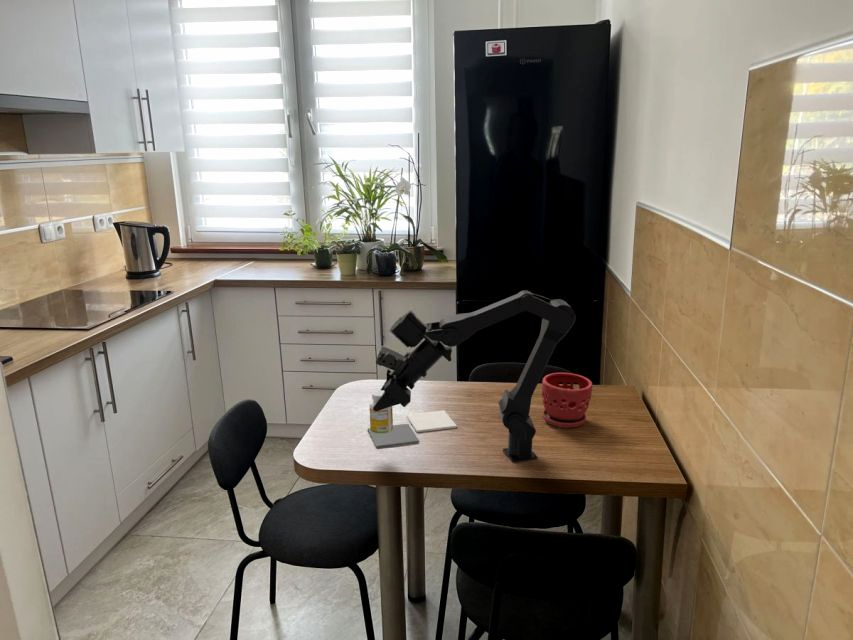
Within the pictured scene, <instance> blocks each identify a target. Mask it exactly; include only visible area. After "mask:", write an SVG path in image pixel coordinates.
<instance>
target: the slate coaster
mask: <svg viewBox="0 0 853 640" xmlns="http://www.w3.org/2000/svg"><path fill="white" fill-rule="evenodd" d="M367 432H368V434H369V436H370V438H371V440H372V442H373V444H374V447H375V448H376V449H379V448H380V449H381V448H389V447H397V446H403V445H404V444H405V445H411V443H412V445H413V444H419V443H420V440H419V438H418V437H417V435H416V434H415V431H414V430H413V429H412V427H411V425H410V423H403V424H402V423H401V424H393V431H392V432H391V433H390V434H388V435H375V434H372V433H371V430H370V427H368V428H367Z"/></svg>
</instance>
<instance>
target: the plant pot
mask: <svg viewBox="0 0 853 640" xmlns="http://www.w3.org/2000/svg"><path fill="white" fill-rule="evenodd" d="M560 382H562V385H560ZM568 383H570V384H568ZM574 384H578V387H579V388H578V389H577V388H574ZM592 393H593V382H592V381H591V380H590V379H589V378H587V377H585V376H583V375H580V374H576V373H571V372H553V373H549V374H547V375H545V376H544V377H543V378H542V382H541V400H542V404H543V407H544V408H543V409H544V410H542V418H543V419H544V420H545V421H546V422H547V423H548V424H550V425H552V426H554V427H555V426H556V427H559V428H576V427H579V426H582V425H583V424H584V423H585V422H586V420H587V415H586V413H587V411H588V408H589V406H590V402H591V399H592Z"/></svg>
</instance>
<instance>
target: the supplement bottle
mask: <svg viewBox="0 0 853 640" xmlns="http://www.w3.org/2000/svg"><path fill="white" fill-rule="evenodd" d="M383 393H384V390H381V389H380V390H375V391H373V392H372V394H371V399H372V400H371V401H370V403H369V428H370V430H371V433H372V434H375V435H388V434H390V433H391V432H392V431H393V425H394V422H393V421H394V420H393V414H394V413H393V412H394V411H393V406H391V407H388V408H385V409H382V410H379V411H374V410H373V407H374V405H375V404H376V403H377V401H378V400H379V398H380V397H381V396H382V394H383Z"/></svg>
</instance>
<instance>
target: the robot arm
mask: <svg viewBox="0 0 853 640" xmlns="http://www.w3.org/2000/svg"><path fill="white" fill-rule="evenodd" d="M525 312H528V313H531V314H533V315H535V316H537V317H539V318H540V319H542V320H541V325H540V326H541V327H540V332H539V335H538V338H537V340H536V342H535V344H534V347H533V348H532V351H531V352H530V355H529V356H528V359H527V362H526V363H525V366H524V367H523V370H522V372H521V374H520V376H519V378H518V381H517V383H516V385H515V386H514V387H513V388H512V389H511V390H510V391H509V390H507V389H504V391H503V394H502V398H501V399H500V400H499V401H498V403H497V404H498V406H499V409H498V411H499V414H500V418H501V421H502V424H503V426H504V427H505V429H508V441H507V443H508V445H507V447H506V448H505V447H504V448H503V449H502V452H503V453H504V454H505V455H506V456H507V458H509V460H510V461H511V462H514V463H515V462H522V461H529V460H530V461H531V460H536V459H538V455H537V454H536V453H535V452H534V451H533V439H534V437H535V435H536V433H537V430H536V428H535V424H534V422H533V421H532V417H531V416H530V413H531V412H530V410H531V405H532V404H531V403H532V397H533V396H534V395H533V394H534V392H535V391H536V389H537V386H538V384H539V382H540V380H541V378H542V376H543V374H544V371H545V369H546V367H547V365H548V363H549V361H550V359H551V356H552V354H553V353H554V350H555V348H556V346H557V344H558V343H559V342H560V341H561V340H562V339H563V338H564V337H565V336H566V335H567V334H568V332H569V331H570V330H571V328H572V327H573V325H575V322H576V318H577V316H576V313H575V310H574V309H573V307H571V306H570V304H568V303H567V302H566V301H564V299H560V298H557V299H550V298H548V297H545V296H543V295H538V294H535V293H533V292H531V291H529V290H526V289H525V290H521V291H519V292H518V293H517V294H514V295H511V296H509V297H506V298H505V299H501V300H499V301H497V302H494V303H492V304H489V305H488V306H487V305H486V306H485V307H482V308H479V309H477V310H475V311H471V312H466V313H457V314H452V315H448V316H445V317H443V318H442V319H440V320H439V321H433V322H426V323H424V322H423V321H422V320H421V319H420V318H419V317H417V315H416V314H415V313H414V312H413V311H412V310H409V311H408V312H406V313H404V314H403V315H402V316H400V317H399V318H398V319H396V321H395V322H394V323H393V325H392V326H391V327H390V329H389V330H388V331H389V333H391V334H392V335H393V336H394V337H395V338H396V339H397V340H398V341H399V342H401V344H403V345H404V346H405V347H406V348H409V347H410V348H411V349H412V348H414V349H413V350H412V351H411V352H410V351H409V352H406V353H405V354H404V355H403V354H401V353H399V352H397V351H394V350H392V349H391V348H388V347H386V346H381V347H380V350H379V351H378V354H377V357H376V359H375V364H376V365H378V366H380V367H381V366H382V367H384V368H387V370H386V380H385V381H384V383H383V385H382V387H381V388H380V390H384V393H383V394H382V396H381V397H380V398H379V400H378V401H377V403H376V404H375V405H374V407H373V410H374V411H379V410H382V409H385V408H388V407H391V406H392V407H395V406H397V405H401V406H402V407H404V408H406V406H408V405H409V404H410V403H411V402H412V401H411V400H412V399H411V398H412V391H411V390H413V389H414V388H415V384H416V383H417V382H418V381H419V380H420V379H421V378H425V377H427V374H428V372H429V370H430V369H432V368H433V367H434V366H435V364H436V363H438V362H439V361H440V359H442V358H444V359H445V360H447V361H448V362H451V361H452V353H453V347H457V346H458V345H460V344H462V343H463V342H465V341H466V340H468V339H469V338H471V337H472V336H473V335H475V333H477V332H479V331H480V330H482V329H484V328H487V327H490V326H492V325H494V324H497V323H499V322H502V321H504V320H506V319H510V318H512V317H514V316H516V315H519V314H522V313H525Z"/></svg>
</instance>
